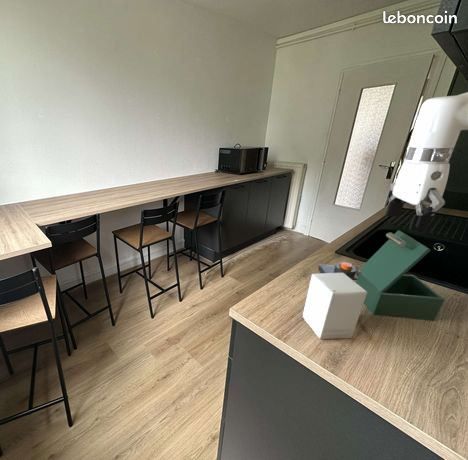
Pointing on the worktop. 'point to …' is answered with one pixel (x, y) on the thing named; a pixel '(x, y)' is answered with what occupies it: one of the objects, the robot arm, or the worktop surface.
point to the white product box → (333, 305)
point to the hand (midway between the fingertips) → (403, 222)
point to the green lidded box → (402, 299)
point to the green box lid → (393, 260)
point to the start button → (346, 266)
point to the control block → (338, 270)
